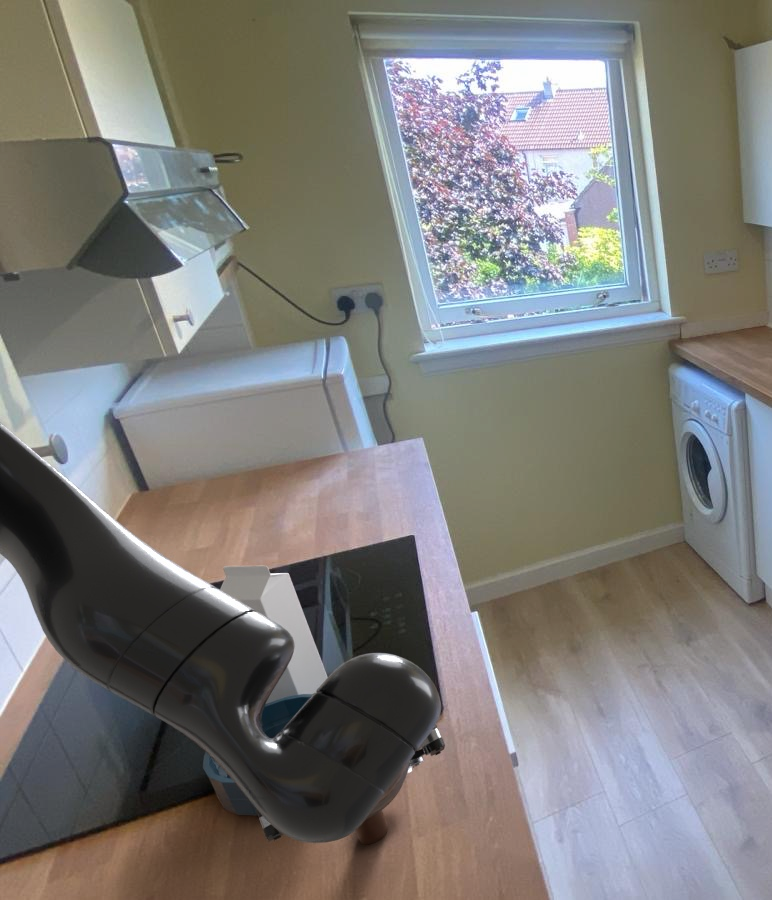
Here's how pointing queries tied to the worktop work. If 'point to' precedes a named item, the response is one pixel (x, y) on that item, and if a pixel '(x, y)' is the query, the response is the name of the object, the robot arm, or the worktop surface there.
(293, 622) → the milk
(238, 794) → the bowl
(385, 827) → the brown tall cylinder
